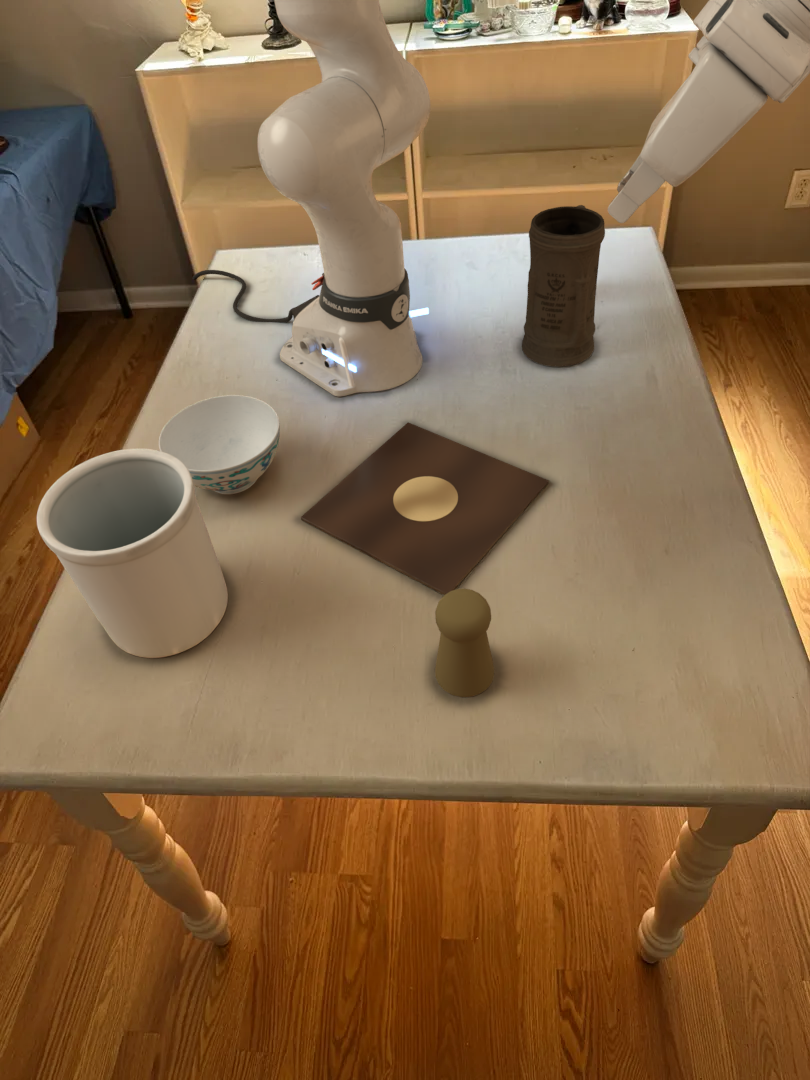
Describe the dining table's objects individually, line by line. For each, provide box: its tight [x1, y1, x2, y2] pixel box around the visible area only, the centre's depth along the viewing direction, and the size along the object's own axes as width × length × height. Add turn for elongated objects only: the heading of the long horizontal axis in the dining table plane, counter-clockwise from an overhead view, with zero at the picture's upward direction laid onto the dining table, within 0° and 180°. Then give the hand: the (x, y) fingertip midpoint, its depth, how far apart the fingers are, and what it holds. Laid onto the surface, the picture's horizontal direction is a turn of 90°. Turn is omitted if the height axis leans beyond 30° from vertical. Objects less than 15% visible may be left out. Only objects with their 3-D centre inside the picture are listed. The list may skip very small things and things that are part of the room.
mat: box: [300, 422, 550, 596], centre depth 97 cm, size 22×22×1 cm
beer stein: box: [521, 204, 606, 368], centre depth 113 cm, size 15×11×20 cm
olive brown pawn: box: [434, 588, 495, 698], centre depth 75 cm, size 6×6×11 cm
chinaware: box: [158, 394, 281, 495], centre depth 100 cm, size 15×15×8 cm
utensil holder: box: [36, 447, 229, 659], centre depth 82 cm, size 15×15×18 cm
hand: (618, 204), depth 64 cm, fingers open, 8 cm apart
